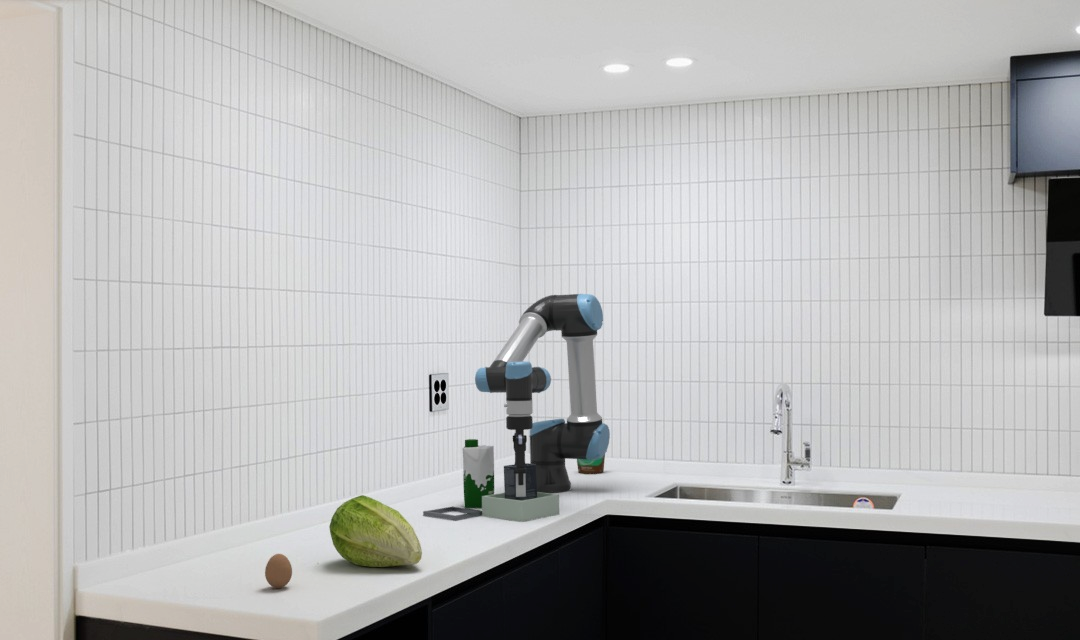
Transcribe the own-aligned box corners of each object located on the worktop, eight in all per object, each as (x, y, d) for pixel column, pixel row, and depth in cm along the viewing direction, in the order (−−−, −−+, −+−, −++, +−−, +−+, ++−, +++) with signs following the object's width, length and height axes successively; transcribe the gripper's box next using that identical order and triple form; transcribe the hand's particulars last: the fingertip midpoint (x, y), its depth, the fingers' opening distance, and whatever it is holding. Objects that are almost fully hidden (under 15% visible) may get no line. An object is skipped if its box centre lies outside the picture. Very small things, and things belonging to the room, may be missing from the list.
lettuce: (437, 580, 238) (385, 600, 226) (364, 536, 253) (311, 553, 241) (446, 520, 235) (394, 537, 223) (372, 478, 249) (319, 493, 237)
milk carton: (468, 503, 324) (467, 438, 324) (497, 504, 322) (496, 438, 323) (460, 508, 315) (459, 441, 316) (490, 508, 314) (489, 441, 314)
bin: (519, 508, 313) (519, 489, 313) (559, 514, 302) (558, 494, 302) (482, 515, 301) (481, 496, 301) (521, 521, 291) (521, 501, 291)
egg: (259, 590, 216) (259, 555, 216) (275, 584, 221) (275, 550, 221) (282, 592, 214) (281, 557, 214) (297, 585, 219) (297, 552, 219)
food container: (572, 474, 389) (571, 447, 389) (574, 472, 395) (574, 445, 395) (605, 474, 387) (605, 447, 387) (607, 472, 393) (606, 445, 393)
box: (524, 499, 306) (523, 462, 307) (537, 500, 302) (536, 463, 303) (504, 502, 301) (503, 465, 301) (517, 503, 297) (516, 466, 297)
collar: (452, 510, 312) (452, 506, 312) (484, 515, 303) (484, 510, 303) (423, 515, 303) (423, 511, 303) (455, 520, 294) (455, 516, 294)
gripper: (505, 412, 313) (506, 489, 313) (506, 418, 291) (507, 500, 291) (530, 412, 313) (531, 488, 313) (534, 417, 291) (535, 499, 291)
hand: (520, 494), depth 302 cm, fingers closed on box, 9 cm apart
